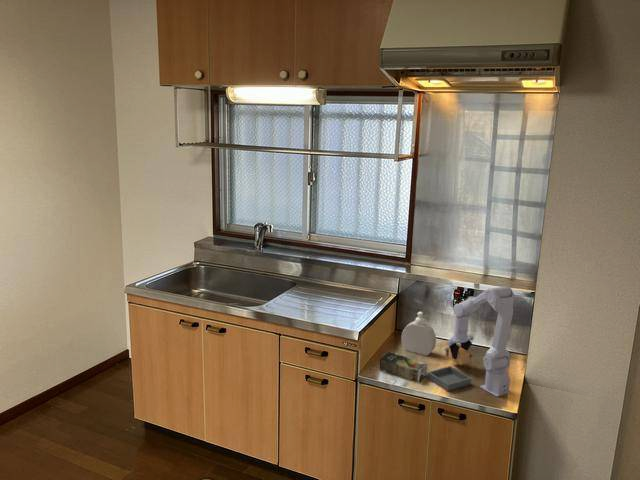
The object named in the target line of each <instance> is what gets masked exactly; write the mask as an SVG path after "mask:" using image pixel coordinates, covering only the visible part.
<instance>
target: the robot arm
mask: <svg viewBox="0 0 640 480" xmlns="http://www.w3.org/2000/svg"><path fill="white" fill-rule="evenodd" d="M514 300H515V293H514V292H513V289H512V287H510V286H509V285H504V286H498V287H494V288H493V287H492V288H491V287H489V288H487V289H485V290H484V291H483V292H481V293H480V294H479V295H477V296H467V299H466V300H462V301H461V303H455V305H453V308H452V309H453V315H455V317H454V318H455V321H454V331H453V332H454V333H453V335H452V337H451V338H450V339H448V340H446V345H447V346H448V348H449V347H450V350H451V354H452V358H453V359H457V353H458V350H459V348H460V347H459V346H457V344H460V345H461V348H463V349H465V350H467V351H468V350H470V347H471V346H472V344H473V342H472V341H474V338H475V337H474V335H472V334H468V331H469V330H468V329H469V320H470V319H471V315H472V314H473V313H474V312H475V311H477V310H479V309H480V308H481V305H482V304H484V303H485V302H486V303H488V304H489V305H490V307H491V308H493V310H494V311H495V312H497V317H496V322H495V327H494V334H493V338H492V343H491V346H490V348H489V349H488V350H487V351H486V352H485V356H484V357H483V359H482V364H483V367H484V369H485V370H486V371H485V379H484V384H482V385H480V386H479V387H480V388H481V389H483V390H484V391H486V392H488V393H490V394H491V395H493V396H495V397H496V398H497V397H500V396H503V395H506V394H509V393H511V391H510V383H511V377H510V376H509V375H508V374H507V372H506V371H507V368H509V366H510V364H511V362H510V361H511V360H510V354H511V352H509V351H508V350H507V343H508V339H509V335H510V329H511V325H512V324H511V323H512V321H513V320H512V319H513V315H514ZM468 352H469V351H468Z"/></svg>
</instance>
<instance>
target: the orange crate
mask: <svg viewBox="0 0 640 480" xmlns="http://www.w3.org/2000/svg"><path fill="white" fill-rule="evenodd" d="M448 348H449V347H448ZM470 353H471V352H470V351H467V350H465V349H463V348H461V347H460V348H459V350H458V353H457V359H453V358H452V354H451V350H450V348H449V355H448V357H447V358H448V359H449V360H451V361H453V362H455V363H457V365H458V364H459V365H460V366H462V365H465V364H469V363H470V357H471V356H470Z"/></svg>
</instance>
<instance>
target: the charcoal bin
mask: <svg viewBox="0 0 640 480" xmlns="http://www.w3.org/2000/svg"><path fill="white" fill-rule="evenodd" d="M426 379H427V380H429V381H430V382H432V383H434V385H436V386H439V388H441V389H443V390H444V391H446V392H448V393H449V392H451V391H455V390H457V389H461V388H464V387H468V386H471V385H472V377H470V376H469V375H466V374H465V373H463V372H462V371H460V370H458V369H457V368H454V367H453V366H451V365H448V366H444V367H441V368H438V369H434V370H430V371H427V375H426Z"/></svg>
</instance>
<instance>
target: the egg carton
mask: <svg viewBox="0 0 640 480" xmlns="http://www.w3.org/2000/svg"><path fill="white" fill-rule="evenodd" d="M457 346H459V347H461V343H457ZM449 348H450V347H449V346H448V347H445V348H444V351H445V356H446V357H447V358H448V355H449ZM468 352H470V349H468Z"/></svg>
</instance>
